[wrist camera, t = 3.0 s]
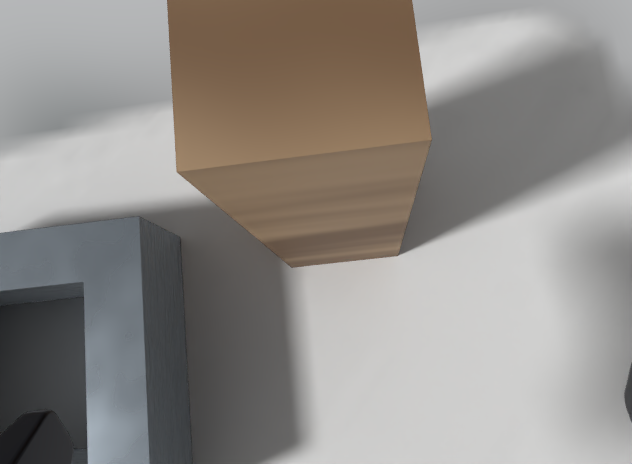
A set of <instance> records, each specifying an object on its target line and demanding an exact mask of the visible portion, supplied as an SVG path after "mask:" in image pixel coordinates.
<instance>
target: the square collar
mask: <svg viewBox="0 0 632 464" xmlns="http://www.w3.org/2000/svg"><path fill="white" fill-rule="evenodd" d="M77 297H84V319H85V362H86V404H87V446H88V448H84V449H73V458H72V464H193V462H192V444H191V426H190V408H189V390H188V372H187V354H186V336H185V317H184V299H183V281H182V263H181V245H180V237H179V236H177V235H175V234H173V233H171V232H169V231H167V230H165V229H163V228H161V227H159V226H157V225H155V224H153V223H151V222H149V221H147V220H145V219H143V218H141V217H139V216H137V217H129V218H121V219H113V220H104V221H96V222H88V223H79V224H71V225H63V226H54V227H46V228H38V229H29V230H21V231H13V232H4V233H0V306H4V305H13V304H22V303H31V302H41V301H50V300H59V299H68V298H77Z"/></svg>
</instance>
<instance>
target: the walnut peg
mask: <svg viewBox="0 0 632 464" xmlns="http://www.w3.org/2000/svg"><path fill="white" fill-rule="evenodd" d="M167 4H168V5H167V6H168V24H169V42H170V60H171V78H172V96H173V114H174V132H175V151H176V169H177V173H179V174H180V175H181V176H182V177H183V178H185V179H186V180H187V181H188V182H189V183H191V184H192V185H193V186H194V187H195V188H197V189H198V190H199V191H200V192H201V193H203V194H204V195H205V196H206V197H207V198H209V199H210V200H211V201H212V202H213V203H215V204H216V205H217V206H218V207H219V208H221V209H222V210H223V211H224V212H225V213H227V214H228V215H229V216H230V217H231V218H233V219H234V220H235V221H236V222H238V223H239V224H240V225H241V226H242V227H244V228H245V229H246V230H247V231H248V232H250V233H251V234H252V235H253V236H254V237H256V238H257V239H258V240H259V241H260V242H262V243H263V244H264V245H265V246H266V247H268V248H269V249H270V250H271V251H272V252H274V253H275V254H276V255H277V256H278V257H280V258H281V259H282V260H283V261H284V262H286V263H287V264H288V265H289V266H290V267H301V266H310V265H319V264H328V263H337V262H347V261H356V260H365V259H374V258H383V257H392V256H398V254H399V250H400V247H401V244H402V240H403V237H404V233H405V230H406V227H407V223H408V220H409V216H410V213H411V209H412V206H413V203H414V199H415V196H416V192H417V189H418V185H419V182H420V179H421V175H422V172H423V168H424V165H425V161H426V158H427V155H428V151H429V148H430V144H431V141H432V138H431V131H430V124H429V117H428V110H427V102H426V95H425V88H424V81H423V74H422V67H421V60H420V53H419V46H418V39H417V32H416V25H415V18H414V11H413V4H412V0H167Z"/></svg>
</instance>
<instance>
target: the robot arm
mask: <svg viewBox="0 0 632 464" xmlns="http://www.w3.org/2000/svg"><path fill="white" fill-rule="evenodd" d="M624 398H625V404H626V408H627V411H628V414H629V416H630V419H631V422H632V364H631V368H630V372H629V376H628V380H627V384H626V388H625V393H624ZM72 458H73V442H72V439H71V437H70V436H69V434H68V432H67V431H66V429H65V427H64V426H63V424H62V423H61V421H60V419H59V418H58V416H57V414H56V413H55V412H54V411H52V410H37V411H29V412H26V413H24V414H23V415H22V416H20V417H19V418H18V419H17V420H16V421H15V422H14V423H13V424H12V425H11V426H10V427H9V428H8V429H7V430H5V431H4V432H3V433H2V434H1V435H0V464H72Z"/></svg>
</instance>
